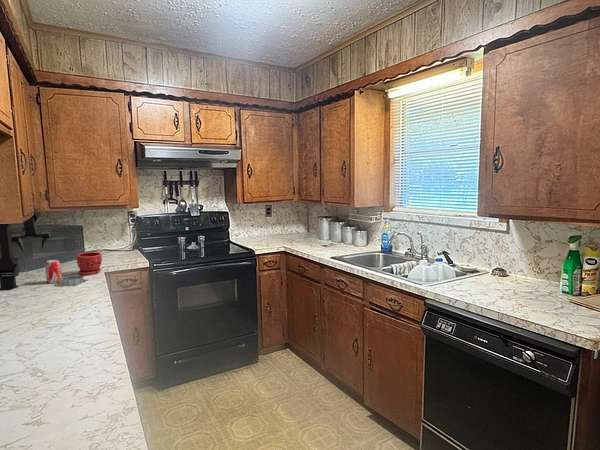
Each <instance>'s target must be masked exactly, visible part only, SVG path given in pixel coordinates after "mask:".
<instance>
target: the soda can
mask: <svg viewBox="0 0 600 450" xmlns="http://www.w3.org/2000/svg"><path fill="white" fill-rule="evenodd" d="M45 277H46V278H45V279H46V283H49V284H59V283H60V278H63V274H62V264H61V262H60V260H59V259H52V260H51V259H50V260H47V261H46V263H45Z"/></svg>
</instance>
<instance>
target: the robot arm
mask: <svg viewBox="0 0 600 450" xmlns="http://www.w3.org/2000/svg"><path fill="white" fill-rule="evenodd" d="M41 218H42V214H41V213H40V212H39V211H38V210H37V208H36V206H34V215H33V216H32V217H31V218H30V219H29V220H27V221H25V222H23V223H22V228H21V230H22V233H23V235H21V234H20V233H16V234H11V228H12V226H13V225H14V223H13V224H0V290H1V291H9V290H13V289H16V288H18V287H20V285H17V281H16V280H17V279H16V277H18V276H20V263H19V258H18V257H16V256H14V250H13V244H17V245H18V247H19V248H20V249H21V250H22V251H23V252H25V248H24V243H23V241H22V240H24V239H35V238H41V250H43V249H44V247H45V242H46V240H48V239H50V238H51V231H47V230H46V231H42V232H41V233H38V229H37V227H36V222H38V221H39V220H41Z"/></svg>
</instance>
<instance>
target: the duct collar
mask: <svg viewBox="0 0 600 450" xmlns="http://www.w3.org/2000/svg"><path fill="white" fill-rule="evenodd" d="M87 281H89V279H84V275H82V274H81V275H80V274H76V275H66V276H62V278H60V282H58V283H56V284H55V287H77V286H79V285H81V284H83V283H85V282H87Z"/></svg>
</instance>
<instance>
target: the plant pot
mask: <svg viewBox="0 0 600 450" xmlns="http://www.w3.org/2000/svg"><path fill="white" fill-rule="evenodd" d="M102 258H103V257H102V253H101V252H98V251H97V252H96V251H87V252H83V253H79V254H76V263H77V267H78V269H79V270H78V273H79V275H80V274H81V276H90V275H96V274H99V273H100V272H101V271H102V270H101V268H100V267H101V265H102V260H103V259H102Z"/></svg>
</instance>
